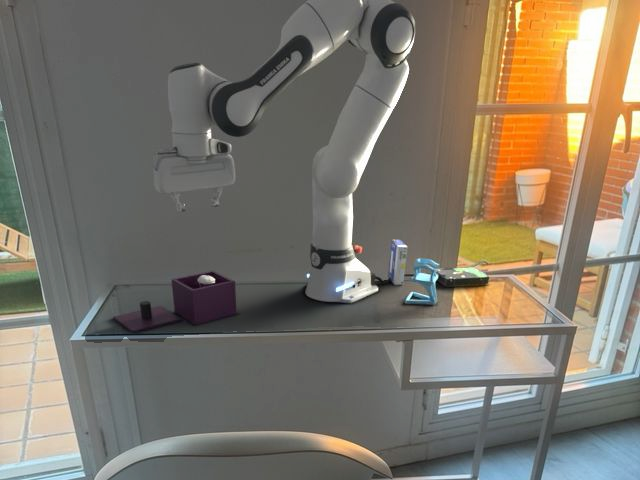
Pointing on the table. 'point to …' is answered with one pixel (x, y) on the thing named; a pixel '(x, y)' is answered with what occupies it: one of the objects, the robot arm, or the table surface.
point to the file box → (204, 298)
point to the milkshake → (205, 281)
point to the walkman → (397, 262)
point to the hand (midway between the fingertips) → (198, 208)
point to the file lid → (146, 318)
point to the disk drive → (461, 276)
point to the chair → (424, 282)
